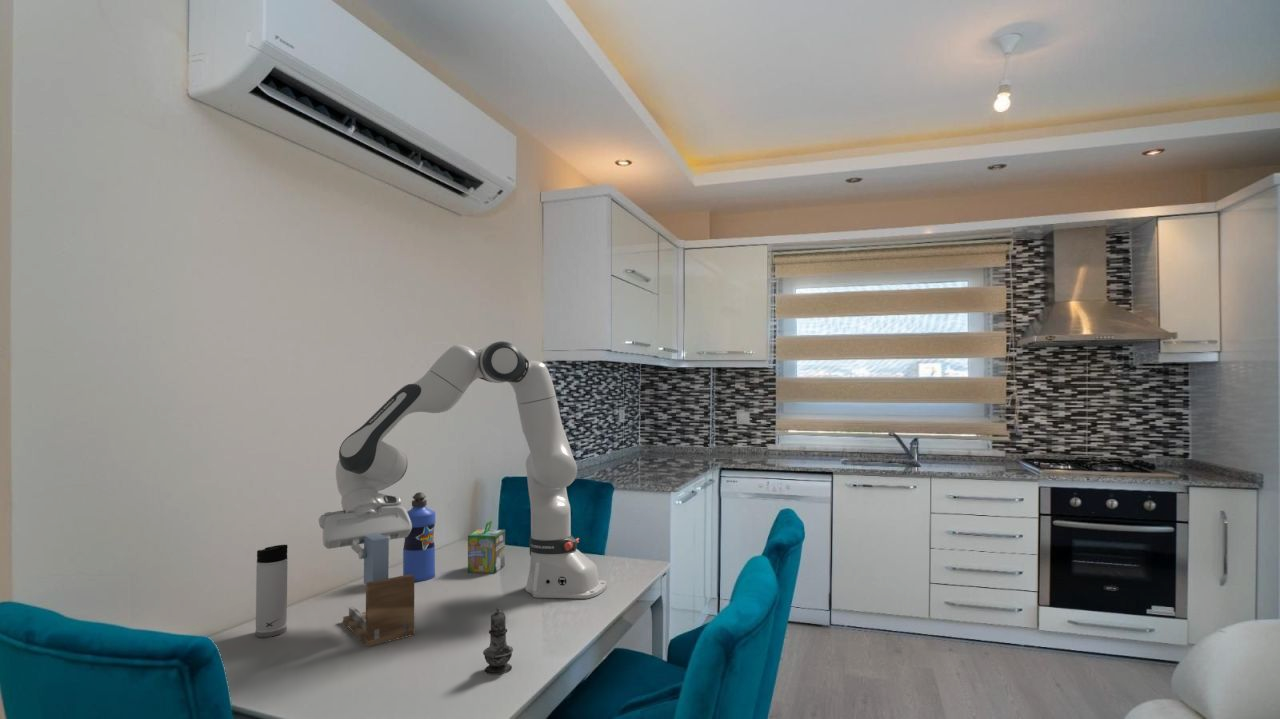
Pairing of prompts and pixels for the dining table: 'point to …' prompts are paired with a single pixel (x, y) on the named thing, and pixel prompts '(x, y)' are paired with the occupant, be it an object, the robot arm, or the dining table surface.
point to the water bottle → (420, 541)
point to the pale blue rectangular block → (376, 557)
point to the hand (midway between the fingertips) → (374, 555)
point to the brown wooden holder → (385, 611)
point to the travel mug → (271, 591)
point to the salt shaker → (498, 646)
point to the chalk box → (486, 550)
